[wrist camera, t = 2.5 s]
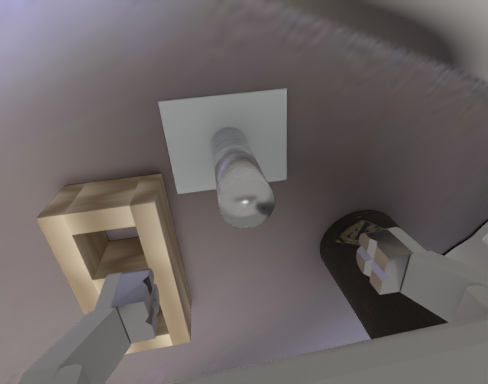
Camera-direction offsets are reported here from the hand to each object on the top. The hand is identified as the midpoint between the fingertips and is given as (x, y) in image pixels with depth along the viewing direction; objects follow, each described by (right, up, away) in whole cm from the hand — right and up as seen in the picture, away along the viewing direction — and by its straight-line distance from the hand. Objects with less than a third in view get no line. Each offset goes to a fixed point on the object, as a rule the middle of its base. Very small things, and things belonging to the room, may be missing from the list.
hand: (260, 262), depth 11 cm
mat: (-2, +7, +13) cm, 15 cm away
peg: (-2, +7, +13) cm, 15 cm away
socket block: (-11, -3, +17) cm, 21 cm away
